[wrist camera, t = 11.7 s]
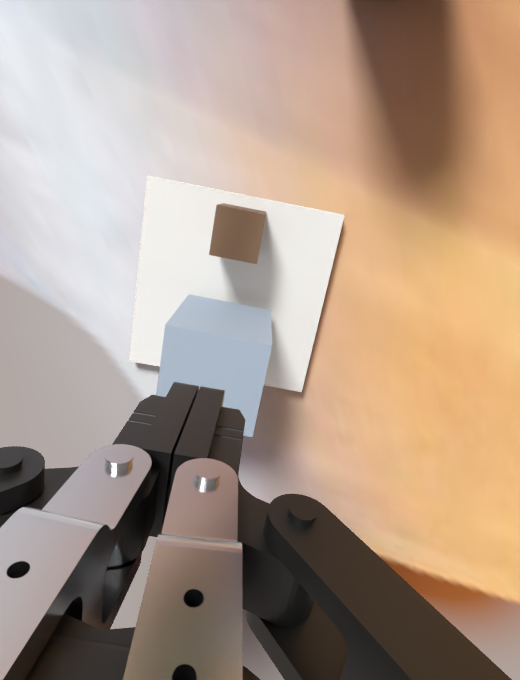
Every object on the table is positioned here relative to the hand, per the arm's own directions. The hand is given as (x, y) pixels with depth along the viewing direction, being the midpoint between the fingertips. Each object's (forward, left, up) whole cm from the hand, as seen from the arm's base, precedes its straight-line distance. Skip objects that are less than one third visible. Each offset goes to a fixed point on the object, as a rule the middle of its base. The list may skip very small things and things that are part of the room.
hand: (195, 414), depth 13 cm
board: (0, 0, -17) cm, 17 cm away
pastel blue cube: (0, +3, -15) cm, 15 cm away
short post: (0, -4, -17) cm, 17 cm away
